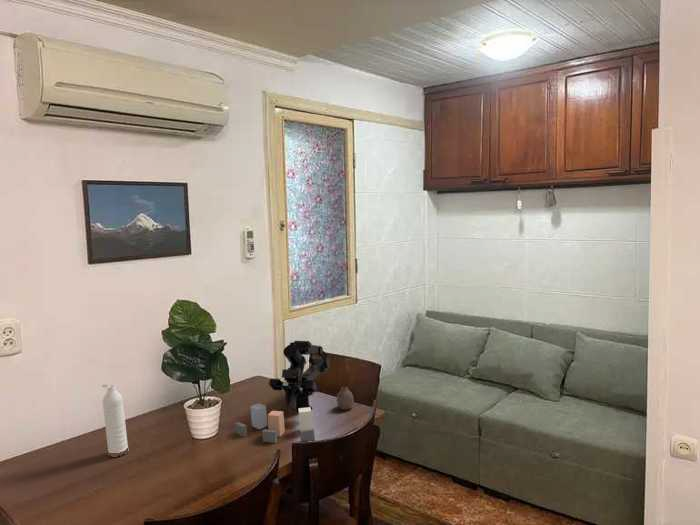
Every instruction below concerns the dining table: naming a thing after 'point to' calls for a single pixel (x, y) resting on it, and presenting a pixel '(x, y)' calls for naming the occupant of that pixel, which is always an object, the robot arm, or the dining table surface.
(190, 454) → the dining table surface
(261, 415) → the gray rectangular block
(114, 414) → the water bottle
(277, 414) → the salmon rectangular block
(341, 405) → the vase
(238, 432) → the block
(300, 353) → the robot arm
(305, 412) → the cream rectangular block
